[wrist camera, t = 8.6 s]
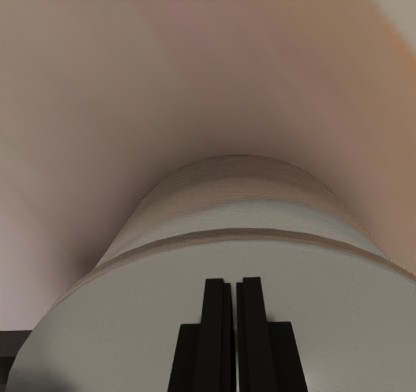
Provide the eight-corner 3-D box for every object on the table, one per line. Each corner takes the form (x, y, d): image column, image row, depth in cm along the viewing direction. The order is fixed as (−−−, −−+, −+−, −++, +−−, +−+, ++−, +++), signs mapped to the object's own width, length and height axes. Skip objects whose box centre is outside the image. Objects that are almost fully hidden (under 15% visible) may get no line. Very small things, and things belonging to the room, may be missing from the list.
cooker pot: (349, 369, 28) (431, 570, 16) (101, 371, 30) (23, 553, 18) (369, 145, 21) (531, 228, 10) (46, 168, 23) (-130, 258, 12)
